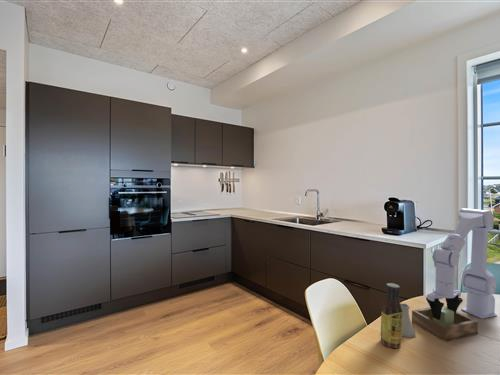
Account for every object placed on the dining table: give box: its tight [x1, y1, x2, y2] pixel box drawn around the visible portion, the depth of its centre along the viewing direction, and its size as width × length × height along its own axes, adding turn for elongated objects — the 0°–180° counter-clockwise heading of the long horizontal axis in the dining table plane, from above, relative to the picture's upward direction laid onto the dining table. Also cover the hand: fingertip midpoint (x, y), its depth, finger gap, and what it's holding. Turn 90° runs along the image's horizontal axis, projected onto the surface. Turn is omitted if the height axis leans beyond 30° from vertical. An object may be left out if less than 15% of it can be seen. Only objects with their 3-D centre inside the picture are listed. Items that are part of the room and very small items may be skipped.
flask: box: [400, 302, 416, 338], centre depth 95 cm, size 7×7×10 cm
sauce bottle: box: [380, 282, 403, 349], centre depth 88 cm, size 6×6×20 cm
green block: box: [433, 306, 454, 326], centre depth 98 cm, size 4×4×6 cm
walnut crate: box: [411, 305, 479, 342], centre depth 98 cm, size 16×13×4 cm
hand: (443, 316), depth 98 cm, fingers open, 7 cm apart
